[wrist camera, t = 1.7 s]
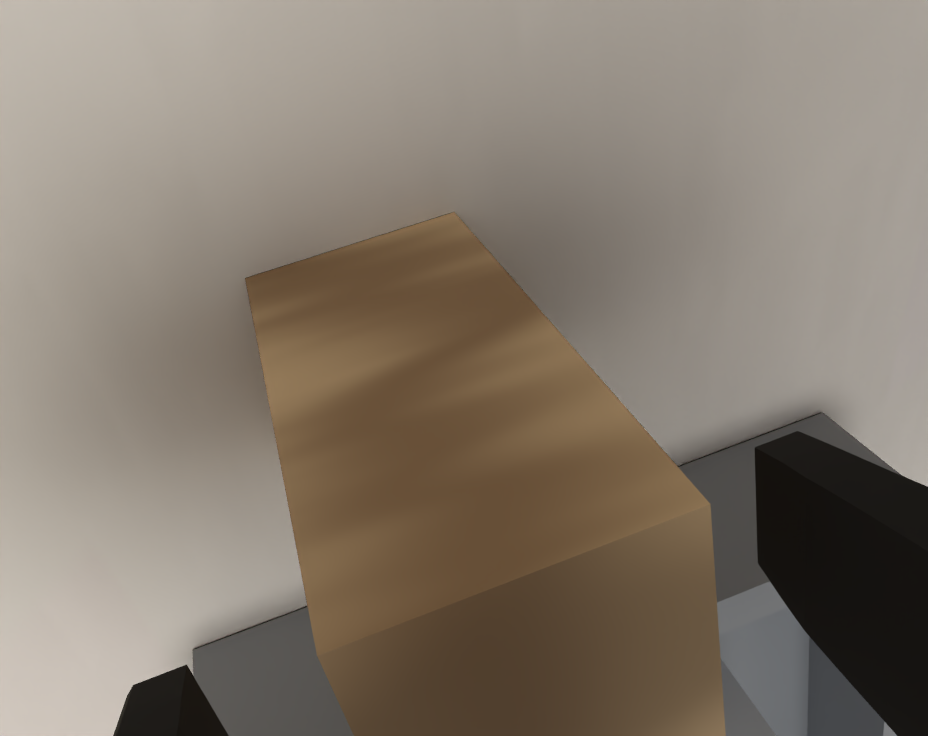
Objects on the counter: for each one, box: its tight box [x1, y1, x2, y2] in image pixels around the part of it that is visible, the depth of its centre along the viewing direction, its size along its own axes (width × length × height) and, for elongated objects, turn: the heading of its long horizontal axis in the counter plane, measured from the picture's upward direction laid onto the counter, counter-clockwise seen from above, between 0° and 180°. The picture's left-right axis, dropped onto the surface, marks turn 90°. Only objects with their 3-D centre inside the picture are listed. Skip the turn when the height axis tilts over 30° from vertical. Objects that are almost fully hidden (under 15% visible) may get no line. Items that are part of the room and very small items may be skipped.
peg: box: [245, 212, 726, 736], centre depth 13 cm, size 4×4×9 cm
